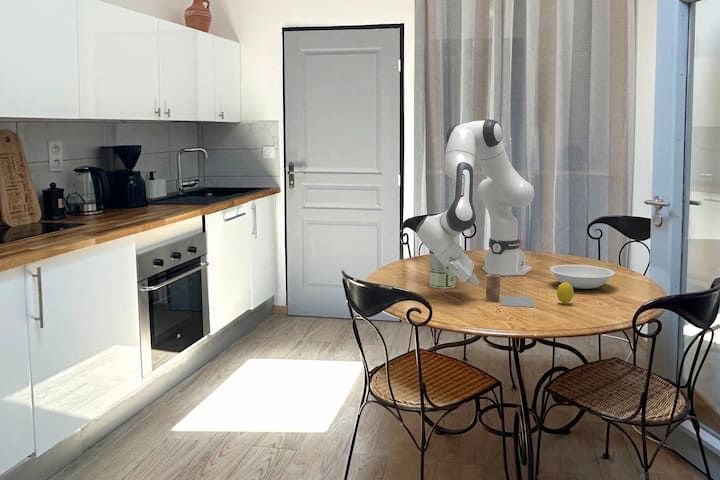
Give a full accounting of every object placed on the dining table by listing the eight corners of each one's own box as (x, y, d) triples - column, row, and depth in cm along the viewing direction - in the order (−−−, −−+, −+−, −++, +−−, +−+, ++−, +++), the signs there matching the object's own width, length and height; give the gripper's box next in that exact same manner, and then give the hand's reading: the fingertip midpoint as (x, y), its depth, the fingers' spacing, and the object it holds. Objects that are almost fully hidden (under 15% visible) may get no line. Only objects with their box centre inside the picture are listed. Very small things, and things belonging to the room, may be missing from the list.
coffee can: (432, 282, 295) (433, 246, 293) (458, 284, 292) (459, 248, 289) (425, 287, 285) (426, 250, 283) (452, 289, 282) (453, 252, 280)
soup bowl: (613, 297, 272) (614, 279, 271) (545, 291, 280) (546, 274, 279) (615, 283, 294) (616, 267, 293) (552, 278, 303) (553, 262, 301)
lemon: (554, 302, 264) (555, 280, 262) (569, 302, 264) (570, 279, 263) (559, 306, 258) (560, 283, 257) (575, 306, 259) (576, 283, 257)
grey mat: (500, 305, 259) (500, 304, 259) (501, 296, 272) (501, 295, 272) (533, 307, 257) (533, 306, 256) (533, 297, 270) (533, 297, 270)
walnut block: (485, 301, 265) (486, 276, 263) (486, 298, 269) (487, 273, 267) (498, 302, 264) (499, 276, 262) (499, 299, 268) (500, 274, 266)
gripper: (455, 254, 256) (483, 284, 256) (460, 244, 276) (486, 272, 275) (441, 267, 258) (469, 296, 257) (448, 256, 277) (473, 283, 277)
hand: (478, 283), depth 266 cm, fingers closed
